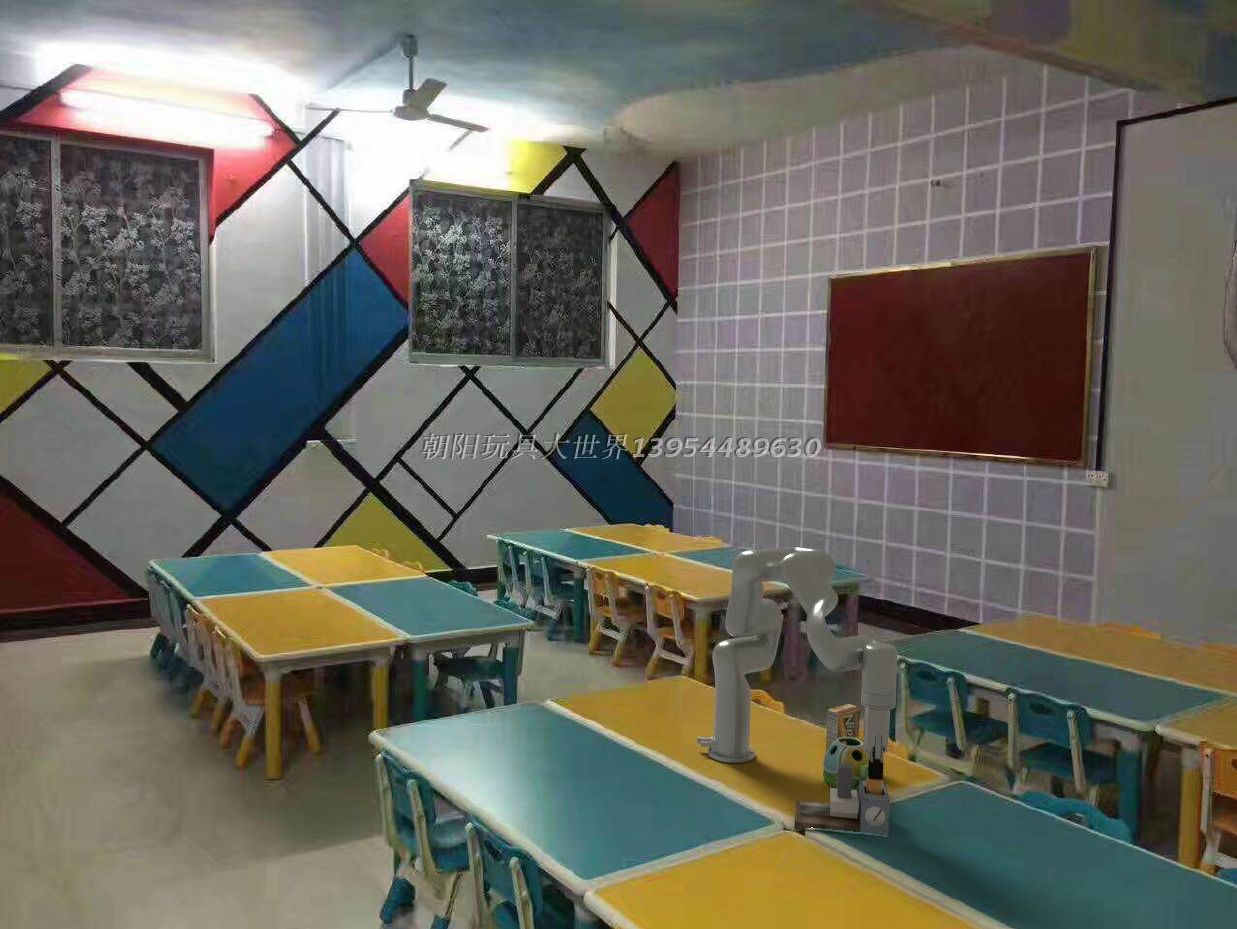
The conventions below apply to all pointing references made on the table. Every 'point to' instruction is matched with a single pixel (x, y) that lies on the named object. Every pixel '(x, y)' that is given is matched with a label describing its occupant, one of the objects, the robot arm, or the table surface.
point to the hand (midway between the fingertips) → (875, 777)
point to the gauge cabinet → (873, 810)
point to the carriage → (844, 794)
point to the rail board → (822, 818)
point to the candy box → (842, 723)
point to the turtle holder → (846, 761)
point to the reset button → (874, 786)
